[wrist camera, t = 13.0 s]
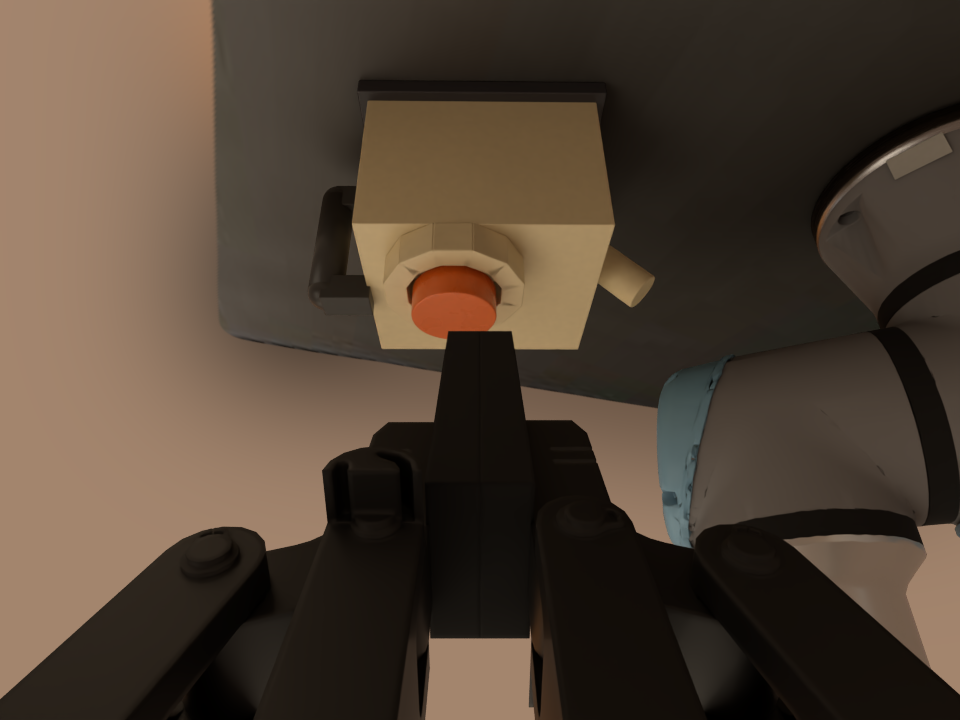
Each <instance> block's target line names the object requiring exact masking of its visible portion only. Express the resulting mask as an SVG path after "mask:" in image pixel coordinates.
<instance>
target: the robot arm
mask: <svg viewBox="0 0 960 720" xmlns="http://www.w3.org/2000/svg"><path fill="white" fill-rule="evenodd" d="M811 230H812V234H813V237H814V240H815V243H816V245H817V248H818V251H819V254H820V256H821V258H822V260H823V261H824V262H825V263H826V265H827V266H829V268H830V269H831V270H832V271H833V272H834V273H835V274H836V275H837V276H838V277H839V278H840V279H841V280H842V281H843V282H844V283H845V284H846V285H847V286H848V287H849V288H850V289H851V290H852V292H853V293H854V294H855V295H856V296H857V297H858V298H859V299H860V300H861V301H862V302H863V303H864V304H865V305H866V306H867V307H868V308H869V309H870V310H871V311H872V312H873V313H874V315H875V317H876V319H877V321H878V324H879V326H880V329H878V330H873V331H867V332H862V333H856V334H851V335H846V336H841V337H835V338H830V339H825V340H820V341H815V342H809V343H804V344H799V345H794V346H788V347H783V348H778V349H773V350H768V351H762V352H757V353H752V354H747V355H741V356H736V357H735V355H727V356H725V357H723V358H722V359H721V360H720V361H715V362H711V363H707V364H703V365H699V366H694V367H690V368H686V369H682V370H680V371H678V372H676V373H674V374H673V375H672V376H671V377H670V378H669V379H668V380H667V382H666V383H665V385H664V387H663V389H662V392H661V395H660V399H659V405H658V416H657V458H658V474H659V483H660V487H661V489H662V492H663V493H662V501H663V514H664V520H665V524H666V528H667V532H668V535H669V537H670V539H671V541H672V543H673V544H669V543H664V542H661V541H657V540H654V539H650V538H648V537H646V536H643V535H641V534H639V533H637V532H636V530H635V528H634V525H633V523H632V521H631V520H630V518H629V517H628V515H627V514H626V513H625V511H623V510H622V509H620V508H619V507H617V506H616V505H614V504H613V503H611V501H610V498H609V495H608V492H607V490H606V487H605V484H604V481H603V478H602V475H601V472H600V469H599V466H598V464H597V463H596V458H595V455H594V452H593V451H592V446H591V443H590V441H589V438H588V435H587V433H586V432H585V431H584V430H583V429H581V428H580V427H579V426H578V425H577V424H575V423H574V422H573V421H572V420H526V419H525V413H524V406H523V400H522V394H521V387H520V381H519V374H518V368H517V361H516V355H515V348H514V342H513V335H512V331H448V335H447V342H446V348H445V355H444V361H443V368H442V374H441V381H440V387H439V394H438V400H437V407H436V413H435V420H434V422H388V423H387V424H386V425H385V426H383V427H382V428H381V429H380V430H379V431H377V432H376V433H375V434H374V435H373V437H372V440H371V443H370V446H369V447H365V448H359V449H356V450H352V451H349V452H346V453H343V454H341V455H340V456H338V457H336V458H334V459H333V460H331V461H330V462H329V463H328V464H327V465H326V467H325V468H324V469H323V470H322V474H323V483H324V493H325V502H326V512H327V521H328V523H327V526H326V529H325V531H324V534H323V535H322V536H320V537H318V538H316V539H314V540H311V541H308V542H305V543H301V544H298V545H294V546H289V547H284V548H280V549H275V550H271V551H266V548H265V541H264V540H263V539H262V538H261V537H260V536H259V535H258V534H257V532H254V531H251V530H249V529H246V528H243V527H219V528H214V529H208V530H204V531H201V532H198V533H196V534H193V535H191V536H189V537H186V538H184V539H182V540H180V541H179V542H178V543H176V544H175V545H173V546H172V547H170V548H169V549H167V550H166V551H165V552H164V553H163V554H162V555H160V556H159V557H158V558H157V559H156V560H155V561H154V562H153V563H151V564H150V565H149V566H148V567H147V568H146V569H145V570H144V571H142V572H141V573H140V574H139V575H138V576H137V577H136V578H135V579H134V580H132V581H131V582H130V583H129V584H128V585H127V586H126V587H125V588H124V589H122V590H121V591H120V592H119V593H118V594H117V595H116V596H115V597H114V598H112V599H111V600H110V601H109V602H108V603H107V604H106V605H105V606H104V607H102V608H101V609H100V610H99V611H98V612H97V613H96V614H95V615H94V616H92V617H91V618H90V619H89V620H88V621H87V622H86V623H85V624H83V625H82V626H81V627H80V628H79V629H78V630H77V631H76V632H75V633H73V634H72V635H71V636H70V637H69V638H68V639H67V640H66V641H65V642H63V643H62V644H61V645H60V646H59V647H58V648H57V649H56V650H55V651H54V652H52V653H51V654H50V655H49V656H48V657H47V658H46V659H45V660H43V661H42V662H41V663H40V664H39V665H38V666H37V667H36V668H35V669H33V670H32V671H31V672H30V673H29V674H28V675H27V676H26V677H25V678H23V679H22V680H21V681H20V682H19V683H18V684H17V685H16V686H15V687H13V688H12V689H11V690H10V691H9V692H8V693H7V694H6V695H4V696H3V697H2V698H1V699H0V720H425V714H426V703H427V692H428V681H429V670H430V666H429V632H430V638H529V637H530V629H531V666H530V690H529V707H534V713H535V720H960V695H959V694H958V693H957V692H956V691H955V690H954V689H953V688H952V687H951V686H949V685H948V684H947V683H946V682H945V681H944V680H943V679H942V678H940V677H939V676H938V675H937V674H936V673H935V672H934V671H933V670H931V668H930V665H929V662H928V659H927V656H926V653H925V650H924V647H923V644H922V641H921V638H920V635H919V632H918V629H917V626H916V623H915V620H914V617H913V614H912V612H911V609H910V606H909V603H908V600H907V597H906V590H907V587H908V584H909V582H910V580H911V579H912V577H913V576H914V574H915V573H916V571H917V570H918V569H919V567H920V566H921V564H922V563H923V561H924V560H925V558H926V555H927V554H926V551H925V548H924V545H923V543H922V540H921V537H920V534H919V532H918V529H917V526H926V525H937V524H954V525H956V528H955V531H956V534H957V536H959V537H960V104H958V105H954V106H951V107H948V108H945V109H942V110H940V111H937V112H934V113H932V114H929V115H927V116H924V117H922V118H920V119H917V120H915V121H913V122H911V123H909V124H907V125H905V126H903V127H901V128H899V129H897V130H896V131H894V132H892V133H890V134H888V135H887V136H885V137H884V138H882V139H880V140H879V141H877V142H876V143H874V144H873V145H871V146H870V147H868V148H867V149H865V150H864V151H863V152H862V153H860V154H859V155H858V156H856V157H855V158H854V159H853V160H852V161H850V162H849V163H848V164H847V165H846V166H845V167H844V168H843V169H842V170H841V171H840V172H839V173H838V174H837V175H836V176H835V177H834V178H833V179H832V180H831V182H830V183H829V184H828V185H827V187H826V188H825V189H824V191H823V192H822V194H821V196H820V197H819V199H818V201H817V203H816V205H815V208H814V211H813V214H812V219H811Z"/></svg>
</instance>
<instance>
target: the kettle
mask: <svg viewBox="0 0 960 720" xmlns="http://www.w3.org/2000/svg"><path fill="white" fill-rule="evenodd" d="M352 226H353V230H354V235H355V239H356V243H357V247H358V251H359V255H360V260H361V264H362V268H363V272H364V276H365V280H366V285H367V286H370V288H371V292H372V296H373V300H374V313H373V314H374V318H375V322H376V326H377V330H378V334H379V339H380V343H381V347H382V349H445V348H446V342H447V339H442V338H438V337H434V336H431V335H429V334H426V333H425V332H423V331H421V330H420V329H419V328H418V327H417V326H416V325H415V324H414V322H413V320H412V317H411V310H412V293H413V285H414V283H415V281H416V279H417V278H418V277H419V276H420V275H421V274H422V273H424V272H426V271H427V270H430V269H433V268H435V267H439V266H468V267H470V268H473V269H476V270H479V271H481V272H483V273H485V274H486V275H488V276H489V277H490V278H491V280H492V281H493V282H494V284H495V287H496V312H497V317H496V321H495V323H494V325H493V326H492V327H491V328H490V329H489V330H488V331H512V335H513V342H514V348H515V349H578V347H579V344H580V340H581V337H582V334H583V330H584V327H585V324H586V320H587V317H588V314H589V310H590V307H591V303H592V300H593V297H594V293H595V290H596V287H597V283H598V280H599V277H600V273H601V270H602V267H603V263H604V260H605V257H606V253H607V250H608V247H609V243H610V240H611V237H612V233H613V230H614V226H615V222H614V216H613V209H612V203H611V196H610V189H609V183H608V176H607V170H606V163H605V157H604V150H603V144H602V137H601V131H600V124H599V118H598V111H597V105H596V103H582V102H468V101H368V102H367V110H366V118H365V126H364V133H363V141H362V149H361V157H360V164H359V172H358V180H357V188H356V195H355V203H354V211H353V219H352Z"/></svg>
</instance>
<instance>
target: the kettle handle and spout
mask: <svg viewBox="0 0 960 720" xmlns="http://www.w3.org/2000/svg"><path fill="white" fill-rule="evenodd" d="M357 93H358V98H359V104H360V109H361V115H362V120H363V126H365V118H366V110H367V102H368V101H468V102H582V103H596V105H597V111H598V118H599V124H600V122H601V118H602V113H603V109H604V104H605V100H606V95H607V92H606V86H605V83H581V82H474V81H367V80H360V81H359V83H358V90H357ZM356 188H357V186H336V187H332V188H330V189H329V190H327V192H326V193H325V194H324V197H323V201H322V207H321V213H320V219H319V225H318V231H317V237H316V243H315V250H314V256H313V262H312V268H311V274H310V280H309V286H308V297H309V300H310V301H311V303H312V304H313V305H314V306H315V307H317V308H319V309H322V310H324V313H325V315H373V313H374V300H373V296H372V292H371V288H370V286H367V285H366V280H365V276H364V275H346V271H347V263H348V255H349V247H350V239H351V232H352V219H353V211H354V203H355V195H356ZM654 280H655V277H654V276H653V275H652V274H650V273H649V272H647V271H646V270H645V269H643V268H642V267H640V266H639V265H637V264H636V263H635V262H633V261H632V260H630V259H629V258H627V257H626V256H625V255H623V254H622V253H620V252H619V251H617V250H616V249H615V248H613V247H612V246H610V245H609V247H608V250H607V253H606V257H605V260H604V263H603V267H602V270H601V273H600V277H599V280H598V284H600V285H601V286H602V287H604V288H605V289H607V290H608V291H609V292H611V293H612V294H613V295H615V296H616V297H617V298H619V299H620V300H622V301H623V302H624V303H626V304H627V305H628V306H630V307H634V306H635V305H637V304H638V303H639V302H640V301H641V300H642V299H643V298H644V296H645V295H646V294H647V292H648V291H649V290H650V288H651V286H652V285H653V282H654Z"/></svg>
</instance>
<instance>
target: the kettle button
mask: <svg viewBox="0 0 960 720" xmlns="http://www.w3.org/2000/svg"><path fill="white" fill-rule="evenodd" d="M411 317H412V320H413V322H414V324H415V325H416V326H417V327H418V328H419V329H420V330H421V331H423V332H425V333H426V334H429V335H431V336H434V337H438V338H442V339H447V335H448V331H488V330H489V329H490V328H491V327H492V326H493V325H494V323H495V321H496V317H497V312H496V287H495V284H494V282H493V281H492V280H491V278H490V277H489V276H488V275H486V274H485V273H483V272H481V271H479V270H476V269H473V268H470V267H468V266H439V267H435V268H433V269H430V270H427V271H426V272H424V273H422V274H421V275H420V276H419V277H418V278H417V279H416V281H415V283H414V285H413V293H412V310H411Z"/></svg>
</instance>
